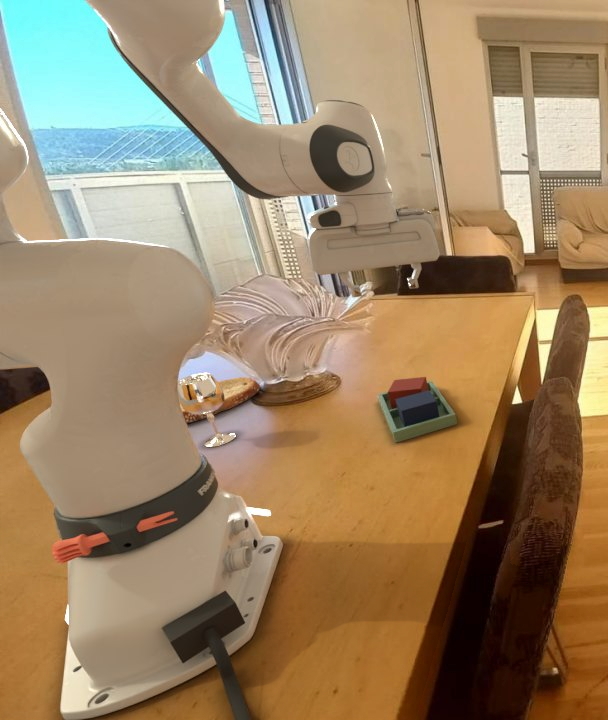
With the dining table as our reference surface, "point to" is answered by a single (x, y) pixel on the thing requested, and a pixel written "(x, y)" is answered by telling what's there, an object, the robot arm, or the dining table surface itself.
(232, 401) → the slice of bread
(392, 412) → the tray rib
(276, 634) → the dining table surface
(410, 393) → the red block
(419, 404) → the pad
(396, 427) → the tray
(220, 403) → the wineglass
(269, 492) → the dining table surface
